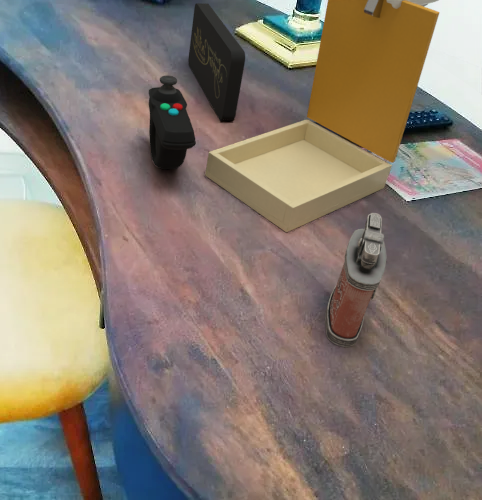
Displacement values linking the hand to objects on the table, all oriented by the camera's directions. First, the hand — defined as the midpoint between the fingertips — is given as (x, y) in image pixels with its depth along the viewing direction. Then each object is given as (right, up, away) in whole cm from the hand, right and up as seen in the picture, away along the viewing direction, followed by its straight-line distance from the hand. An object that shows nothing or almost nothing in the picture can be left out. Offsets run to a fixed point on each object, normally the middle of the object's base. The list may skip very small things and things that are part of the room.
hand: (380, 60), depth 76 cm
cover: (-2, -2, -1) cm, 3 cm away
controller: (-25, -12, +3) cm, 28 cm away
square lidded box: (-9, -14, +3) cm, 17 cm away
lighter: (-9, -29, -16) cm, 34 cm away
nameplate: (-18, +2, +22) cm, 28 cm away
